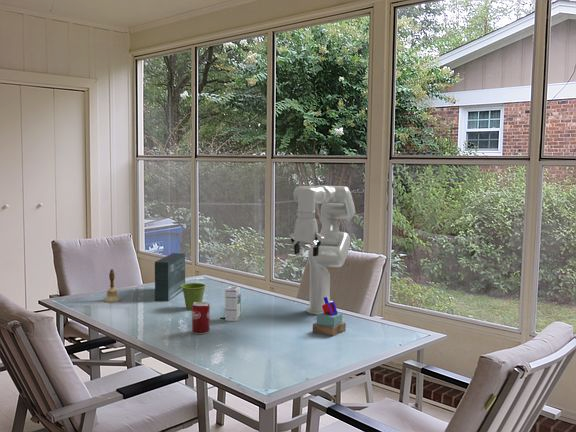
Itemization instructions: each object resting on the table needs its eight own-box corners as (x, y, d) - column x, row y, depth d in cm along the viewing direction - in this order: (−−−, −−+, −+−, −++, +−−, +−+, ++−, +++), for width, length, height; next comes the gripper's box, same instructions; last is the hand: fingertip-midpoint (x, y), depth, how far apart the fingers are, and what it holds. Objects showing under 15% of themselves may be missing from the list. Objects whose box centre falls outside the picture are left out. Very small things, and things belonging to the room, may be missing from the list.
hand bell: (124, 300, 299) (123, 269, 298) (111, 303, 292) (110, 271, 291) (113, 297, 304) (112, 267, 302) (100, 301, 297) (99, 269, 295)
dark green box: (173, 288, 327) (172, 253, 325) (185, 289, 326) (185, 253, 324) (155, 301, 298) (154, 262, 296) (168, 301, 297) (168, 262, 296)
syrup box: (237, 321, 261) (237, 289, 260) (224, 320, 262) (224, 288, 261) (241, 318, 267) (241, 286, 265) (228, 317, 268) (228, 286, 267)
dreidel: (331, 316, 249) (326, 298, 251) (337, 313, 245) (332, 295, 248) (325, 317, 246) (319, 299, 249) (331, 315, 243) (325, 296, 245)
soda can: (195, 335, 240) (195, 306, 239) (189, 330, 246) (189, 302, 245) (212, 333, 243) (212, 304, 242) (206, 328, 250) (206, 300, 248)
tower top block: (325, 319, 252) (325, 310, 252) (342, 322, 248) (342, 313, 248) (316, 324, 245) (316, 314, 245) (334, 327, 241) (334, 317, 241)
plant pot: (176, 309, 281) (176, 286, 279) (189, 304, 291) (189, 282, 290) (198, 312, 276) (197, 288, 275) (210, 306, 287) (210, 284, 286)
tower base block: (325, 327, 254) (325, 318, 254) (345, 331, 248) (345, 322, 248) (312, 333, 246) (312, 323, 246) (332, 337, 240) (333, 327, 240)
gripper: (285, 215, 258) (285, 254, 259) (319, 217, 248) (318, 258, 250) (295, 214, 264) (294, 252, 266) (328, 216, 254) (327, 255, 256)
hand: (306, 254), depth 258 cm, fingers open, 9 cm apart
